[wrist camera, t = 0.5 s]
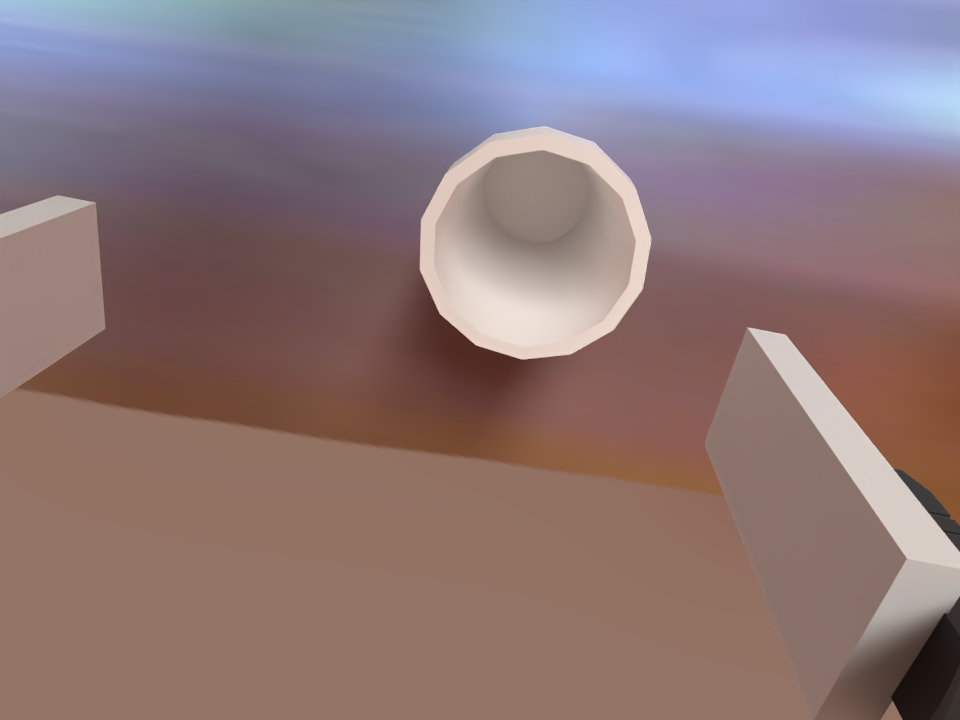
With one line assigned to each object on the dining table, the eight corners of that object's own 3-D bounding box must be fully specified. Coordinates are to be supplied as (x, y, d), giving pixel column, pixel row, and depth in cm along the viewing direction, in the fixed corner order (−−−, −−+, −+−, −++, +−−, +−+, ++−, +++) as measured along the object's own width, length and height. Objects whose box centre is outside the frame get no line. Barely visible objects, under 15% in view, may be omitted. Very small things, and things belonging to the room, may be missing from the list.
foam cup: (437, 240, 41) (394, 320, 30) (480, 82, 38) (451, 103, 26) (586, 287, 42) (602, 384, 30) (644, 136, 38) (689, 180, 26)
